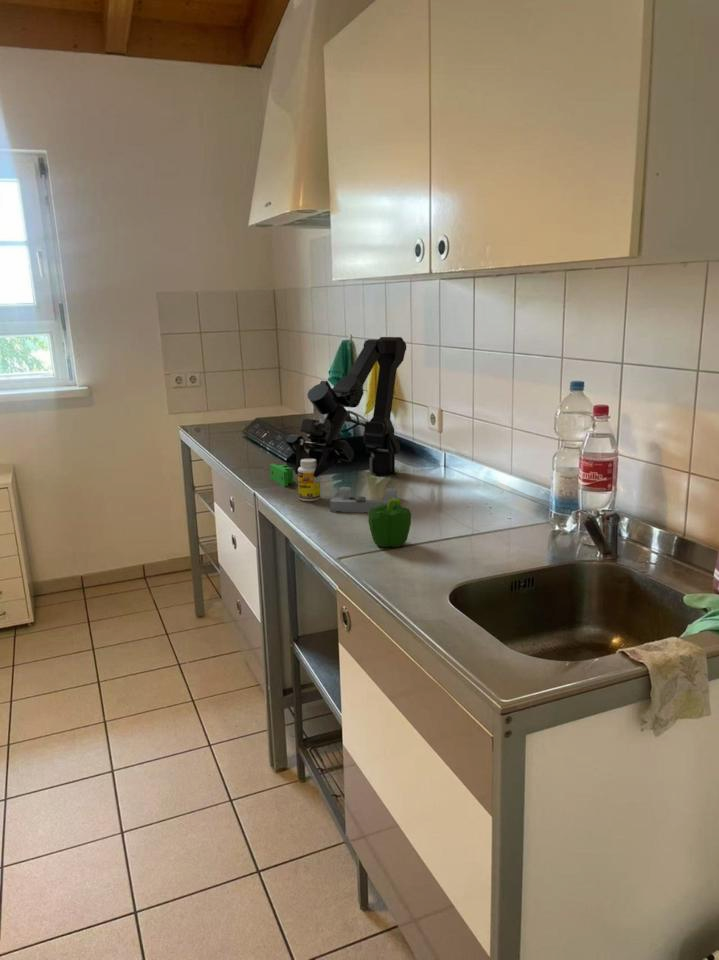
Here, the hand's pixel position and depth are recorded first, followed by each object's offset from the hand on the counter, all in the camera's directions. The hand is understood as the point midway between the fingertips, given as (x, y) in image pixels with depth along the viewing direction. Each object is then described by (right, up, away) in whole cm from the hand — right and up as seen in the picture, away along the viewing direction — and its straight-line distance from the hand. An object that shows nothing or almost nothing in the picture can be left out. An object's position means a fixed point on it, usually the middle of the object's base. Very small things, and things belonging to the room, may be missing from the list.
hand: (305, 475), depth 182 cm
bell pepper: (+20, -15, -33) cm, 41 cm away
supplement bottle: (+1, -6, +3) cm, 7 cm away
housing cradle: (+15, -7, -3) cm, 17 cm away
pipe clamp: (-8, -2, +21) cm, 23 cm away
